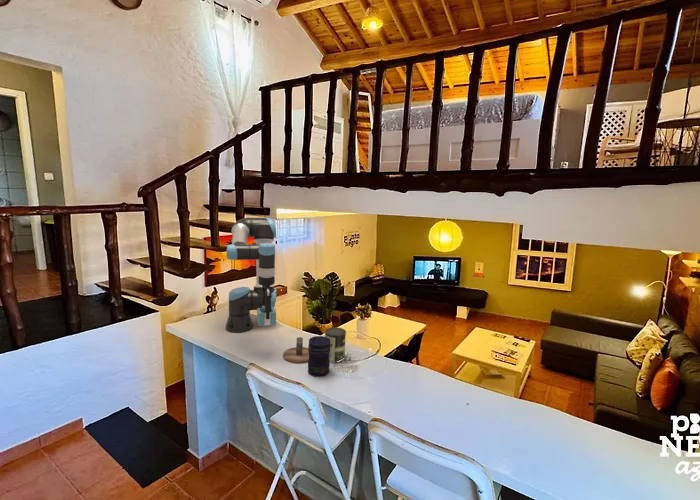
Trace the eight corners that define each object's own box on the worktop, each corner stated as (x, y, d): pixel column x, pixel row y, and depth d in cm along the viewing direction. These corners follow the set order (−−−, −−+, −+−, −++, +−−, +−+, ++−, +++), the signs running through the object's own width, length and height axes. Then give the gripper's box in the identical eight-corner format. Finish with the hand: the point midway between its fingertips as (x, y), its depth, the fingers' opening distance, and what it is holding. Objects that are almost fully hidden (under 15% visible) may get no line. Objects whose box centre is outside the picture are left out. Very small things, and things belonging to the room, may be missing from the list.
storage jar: (333, 371, 161) (335, 341, 159) (317, 379, 154) (318, 347, 152) (319, 363, 168) (320, 334, 166) (303, 370, 161) (303, 339, 158)
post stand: (280, 350, 180) (280, 333, 178) (311, 346, 186) (311, 330, 184) (286, 365, 165) (286, 347, 164) (319, 361, 171) (319, 343, 169)
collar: (257, 319, 174) (257, 308, 173) (273, 318, 177) (273, 307, 176) (258, 325, 166) (258, 313, 166) (275, 324, 169) (275, 312, 168)
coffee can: (345, 354, 180) (346, 327, 177) (344, 363, 169) (345, 336, 167) (324, 352, 180) (325, 326, 177) (322, 362, 170) (323, 334, 167)
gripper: (256, 271, 176) (256, 314, 180) (260, 281, 157) (260, 330, 161) (271, 270, 179) (271, 313, 182) (277, 281, 159) (277, 329, 163)
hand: (266, 321), depth 172 cm, fingers closed on collar, 8 cm apart
